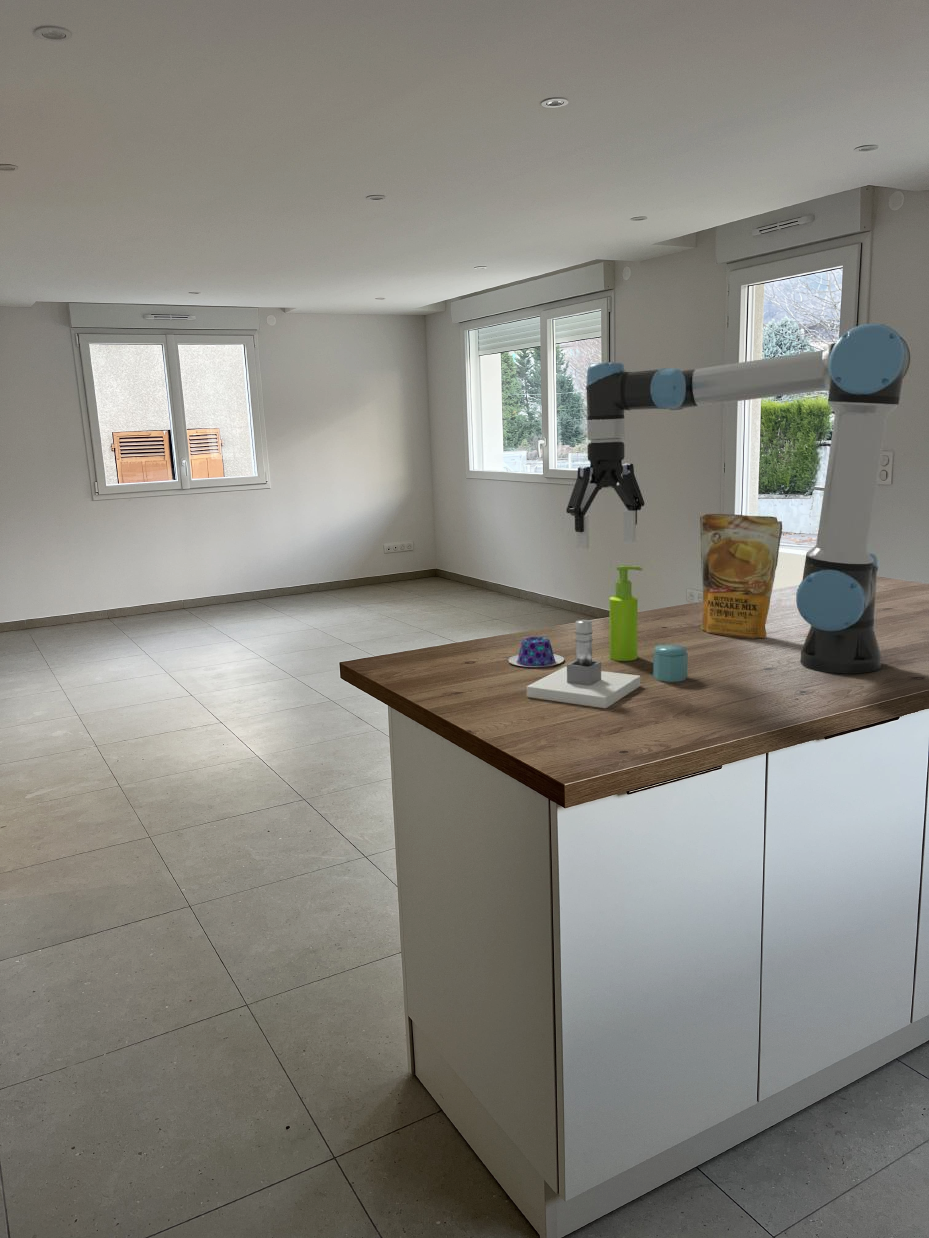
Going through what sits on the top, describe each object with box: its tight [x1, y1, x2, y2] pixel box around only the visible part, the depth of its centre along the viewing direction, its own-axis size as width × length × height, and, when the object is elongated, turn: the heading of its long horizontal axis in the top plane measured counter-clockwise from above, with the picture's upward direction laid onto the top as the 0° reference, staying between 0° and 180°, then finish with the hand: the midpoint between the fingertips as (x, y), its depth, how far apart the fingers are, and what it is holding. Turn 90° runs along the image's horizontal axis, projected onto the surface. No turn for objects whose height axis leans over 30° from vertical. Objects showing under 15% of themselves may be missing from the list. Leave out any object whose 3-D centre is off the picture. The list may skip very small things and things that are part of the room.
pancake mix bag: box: [699, 513, 783, 640], centre depth 210 cm, size 7×19×28 cm, turn 48°
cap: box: [652, 644, 689, 683], centre depth 177 cm, size 6×6×6 cm
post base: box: [526, 659, 641, 709], centre depth 170 cm, size 16×16×6 cm
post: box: [574, 619, 593, 667], centre depth 169 cm, size 3×3×10 cm
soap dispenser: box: [609, 564, 644, 662], centre depth 192 cm, size 6×7×20 cm
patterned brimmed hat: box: [508, 636, 565, 668], centre depth 193 cm, size 12×12×5 cm
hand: (606, 544), depth 189 cm, fingers open, 13 cm apart
